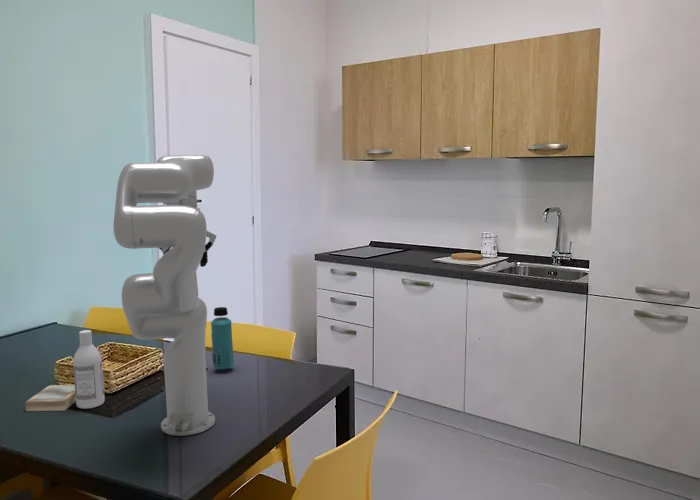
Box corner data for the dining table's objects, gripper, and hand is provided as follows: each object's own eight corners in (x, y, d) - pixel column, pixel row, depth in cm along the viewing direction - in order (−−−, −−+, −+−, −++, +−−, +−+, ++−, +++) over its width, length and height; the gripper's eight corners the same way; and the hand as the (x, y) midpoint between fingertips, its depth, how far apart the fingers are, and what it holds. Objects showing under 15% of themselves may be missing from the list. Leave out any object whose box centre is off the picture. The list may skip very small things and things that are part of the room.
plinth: (64, 410, 146) (63, 400, 146) (26, 411, 146) (25, 401, 146) (85, 393, 158) (85, 384, 158) (50, 393, 158) (49, 384, 158)
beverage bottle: (236, 367, 178) (234, 305, 176) (230, 374, 172) (227, 310, 169) (216, 366, 179) (214, 305, 176) (209, 374, 172) (206, 310, 170)
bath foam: (92, 397, 155) (86, 326, 152) (110, 401, 152) (105, 329, 149) (70, 407, 149) (64, 333, 146) (89, 411, 146) (83, 336, 143)
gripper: (145, 204, 149) (149, 268, 151) (210, 203, 148) (213, 268, 150) (156, 203, 156) (160, 264, 158) (218, 202, 155) (220, 263, 157)
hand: (186, 266), depth 154 cm, fingers open, 9 cm apart
